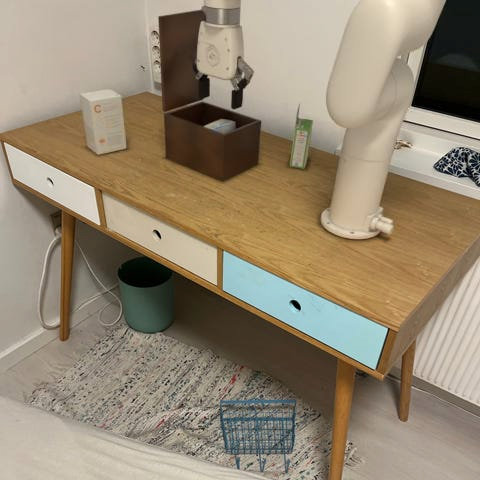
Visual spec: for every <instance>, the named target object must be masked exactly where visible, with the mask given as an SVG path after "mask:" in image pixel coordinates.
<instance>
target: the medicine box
mask: <svg viewBox="0 0 480 480" xmlns="http://www.w3.org/2000/svg"><path fill="white" fill-rule="evenodd" d="M204 127H206V128H209V129H212V130H215V131H218V132H220V133H223V134H225V133H227V132H230V131H232V130H235V129H236V124H235V122H234V121H230V120H225V119H220V120H217V121H215V122H212V123H210V124H208V125H206V126H204Z"/></svg>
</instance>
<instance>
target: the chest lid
mask: <svg viewBox="0 0 480 480" xmlns="http://www.w3.org/2000/svg"><path fill="white" fill-rule="evenodd" d="M157 18H158V19H157V20H158V21H157V22H158V37H159V38H158V40H159V43H158V44H159V61H160V62H159V63H160V82H161V83H160V85H161V86H160V87H161V102H162V103H161V106H162V112H163V113H167V112H170V111H174V110H177V109H180V108H183V107H186V106H189V105H192V104H195V103H198V102H202V101H204V99H205V98H203V99H199V80H197V78H196V73H195V72H194V70H193V65H192V62H191V59H190V55H192V54H194V53H196V52H197V45H198V35H199V29H200V24H201V22H202V21H204V13H202V12H201V9H195V10H190V11H183V12H177V13H171V14H165V15H164V14H163V15H158V16H157Z"/></svg>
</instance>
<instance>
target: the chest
mask: <svg viewBox="0 0 480 480" xmlns="http://www.w3.org/2000/svg"><path fill="white" fill-rule="evenodd" d="M220 119H225V120H230V121H234V122H235V124H236V129H235V130H232V131H230V132H227V133H225V134H223V133H220V132H218V131H215V130H212V129H209V128H206V127H204V126H206V125H208V124H210V123H212V122H215V121H217V120H220ZM163 124H164V146H165V148H164V149H165V159H167V160H170V161H171V162H174V163H177V164H179V165H181V166H183V167H186V168H189V169H191V170H193V171H196V172H197V173H198V172H199V173H201V174H204V175H206V176H208V177H210V178H213V179H215V180H218V181H220V182H225V181H227V180H229V179H231V178H233V177H235V176H238V175H239V174H241V173H243V172H245V171H248V170H249V169H251V168H255V166H258V165H259V159H260V157H259V156H260V144H261V131H262V120H261V119H258V118H255V117H252V116H249V115H245V114H242V113H240V112H236V111H233V110H232V109H229V108H228V109H227V108H225V107H221V106H220V105H219V106H218V105H215V104H212V103H210V102H206V101H204V100H201V101H198V102H195V103H192V104H188V105H185V106H182V107H179V108H176V109H173V110H170V111H167V112H164V113H163Z"/></svg>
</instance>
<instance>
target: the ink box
mask: <svg viewBox="0 0 480 480" xmlns="http://www.w3.org/2000/svg"><path fill="white" fill-rule="evenodd" d="M300 106H301V103H298V107H297V112H296V117H295V125H294V130H293V140H292V146H291V154H290V160H289V167H290V168H295V169H300V170H304V169H306V165H307V162H308V160H309V159H308V158H309V152H310V144H311V138H312V131H313V124H314V119H308V118H301V117H299V114H300V108H301V107H300Z"/></svg>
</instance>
